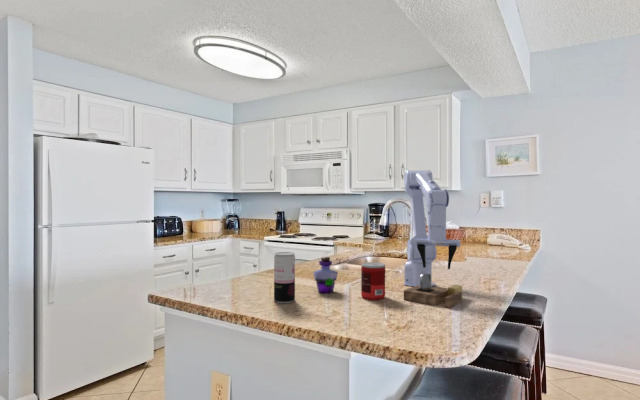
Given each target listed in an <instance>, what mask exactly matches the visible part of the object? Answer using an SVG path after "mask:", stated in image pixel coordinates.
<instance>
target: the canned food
mask: <svg viewBox="0 0 640 400" xmlns="http://www.w3.org/2000/svg"><path fill="white" fill-rule="evenodd" d="M360 267H361V269H360V270H361V275H360V276H361V277H360V278H361V281H360V283H361V285H360V286H361V287H360V288H361V290H360V291H361V292H360V293H361V298H362V299H363V298H364V299H363V300H366V299H368V300H367V301H381V300H380V299H382V300H383V299H385V297H386V264H385V263H383V262H377V261H376V262H375V261H374V262H371V261H369V262H363V263H361V266H360Z"/></svg>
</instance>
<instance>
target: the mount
mask: <svg viewBox="0 0 640 400" xmlns="http://www.w3.org/2000/svg"><path fill="white" fill-rule="evenodd" d="M462 300H463V291H462V292H456V293H454V294H451V295H449V296H448V289H443V288H437V287H433V286H432V287H431V292H430V293H428V292H422V291H420V286H419V285H417V286H411V287H410V288H407V289H404V290H403V301H409V302H412V303H413V302H415V303H420V304H425V305H429V306H430V305H431V306H437V305H439V304H441V303H444V308H446V309H451V308H452V307H456V306H457V305H458V304H460V303H461V302H463V301H462Z"/></svg>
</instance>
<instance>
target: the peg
mask: <svg viewBox="0 0 640 400" xmlns="http://www.w3.org/2000/svg"><path fill="white" fill-rule="evenodd" d="M420 291H422V292H428V293H430V292H431V274H426V273H423V274H420Z"/></svg>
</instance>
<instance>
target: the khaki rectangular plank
mask: <svg viewBox="0 0 640 400" xmlns="http://www.w3.org/2000/svg"><path fill="white" fill-rule="evenodd" d="M447 290H448V296H449V295H451V294H454V293H456V292H462V293H463V285H461V284H453V285H451V286H448V287H447Z"/></svg>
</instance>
